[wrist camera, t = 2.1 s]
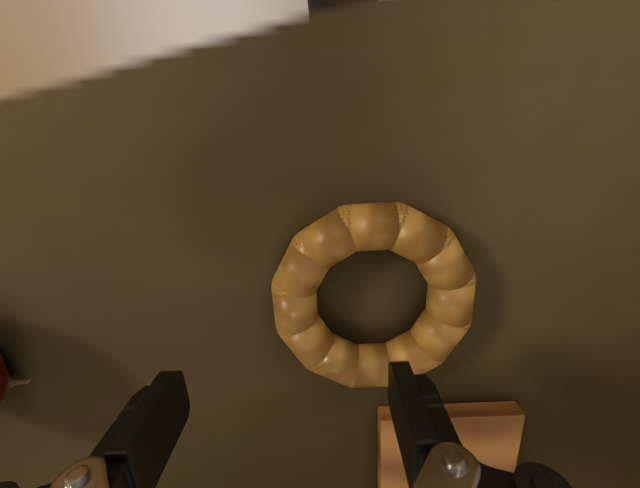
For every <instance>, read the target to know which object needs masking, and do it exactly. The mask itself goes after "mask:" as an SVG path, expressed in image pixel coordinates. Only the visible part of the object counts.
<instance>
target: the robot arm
mask: <svg viewBox="0 0 640 488" xmlns="http://www.w3.org/2000/svg"><path fill="white" fill-rule="evenodd" d="M388 401H389V408H390V413H391V417H392V421H393V425H394V429H395V433H396V437H397V441H398V445H399V449H400V453H401V457H402V461H403V465H404V469H405V473H406V477H407V481H408V485H409V488H572V487H571V485H570V484H569V483H568V482H567V481H566V480H565V479H564V478H563V477H562V476H561V475H560V474H559V473H557V472H556V471H554V470H553V469H551V468H549V467H547V466H545V465H542V464H538V463H532V462H527V463H522V464H520V465H519V466H518V467H517V468H516V469H515V472H514V473H512V472H508V471H505V470H501V469H497V468H493V467H490V466H487V465H485V464H483V463H481V462H479V461H478V460H477V459H476V457H475V456H474V455H473V454H472V453H471V452H470V451H469V450H468V449H466V448H465V447H463V445H462V443H461V441H460V439H459V437H458V435H457V432H456V430H455V428H454V426H453V424H452V422H451V419H450V417H449V415H448V413H447V411H446V408H445V407H444V404H443V402H442V400H441V398H440V395H439V393H438V391H437V389H436V386H435V384H434V383H433V382H432V381H431V380H430V379H429V378H428V377H427V376H426V375H425V374H418V375H414V373H413V370H412V368H411V365H410V363H409V361H391V362H389V363H388ZM189 410H190V402H189V397H188V393H187V388H186V384H185V379H184V375H183V372H182V371H180V370H179V371H161V372H159V373H158V375H157V376H156V377H155V379H154V380H153V382H152V383H151V385H150V386H144V387H143V388H142V389H141V390H140V391H138V392H137V393H136V394H135V395H133V396H132V398H131V399H130V400H129V402H128V403H127V404H126V406H125V407H124V410H122V411H121V413H120V414H119V415H118V417H117V420H115V421H114V422H113V424H112V425H111V427H110V428H109V429H108V431H107V432H106V433H105V435H104V436H103V438H102V439H101V440H100V442H99V443H98V445H97V446H96V447H95V449H94V450H93V451H92V453H91V454H90V456H89V457H86V458H83V459H80V460H78V461H76V462H74V463H72V464H71V465H69V466H68V467H66V468H65V469H64V470H63V471H62V472H61V473H59V475H58V476H57V477H56V478H55V479H54V481H53V482H52V483H50V484H47V485H44V486H41V487H37V488H155V487H156V485H157V483H158V481H159V479H160V476H161V474H162V472H163V470H164V468H165V466H166V464H167V462H168V459H169V457H170V455H171V453H172V451H173V449H174V447H175V445H176V442H177V440H178V438H179V436H180V434H181V432H182V430H183V428H184V426H185V423H186V421H187V419H188V416H189ZM0 488H19V487H18V485H17V483H15V482H12V481H6V482H1V483H0Z"/></svg>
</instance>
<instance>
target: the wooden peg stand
mask: <svg viewBox="0 0 640 488" xmlns="http://www.w3.org/2000/svg"><path fill="white" fill-rule="evenodd" d="M444 407H445V408H446V411H447V413H448V415H449V417H450V419H451V422H452V424H453V426H454V428H455V430H456V432H457V435H458V437H459V439H460V441H461V443H462V445H463V447H465V448H466V449H468V450H469V451H470V452H471V453H472V454H473V455H474V456H475V457H476V459H477V460H478V461H479V462H481V463H483V464H485V465H487V466H490V467H493V468H497V469H501V470H505V471H508V472H512V473H514V472H515V468H516V463H517V457H518V452H519V447H520V441H521V436H522V431H523V425H524V420H525V414H524V413H523V411H522V410H521V409H520V407H519V406H518V404H517V403H516V402H515V401H500V402H475V403H449V404H444ZM378 488H409V485H408V481H407V477H406V473H405V469H404V465H403V461H402V457H401V453H400V449H399V445H398V441H397V437H396V433H395V429H394V425H393V421H392V417H391V413H390V408H389V406H378Z"/></svg>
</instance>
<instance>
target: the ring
mask: <svg viewBox="0 0 640 488" xmlns="http://www.w3.org/2000/svg"><path fill="white" fill-rule="evenodd" d="M375 250H391V251H393V252H395V253H397V254H399V255H401V256H403V257H405V258H407V259H409V260H411V261H413V262H415V264H416V265H417V267H418V269H419V270H420V272H421V274H422V275H423V277H424V279H425V280H426V282H427V297H426V308H425V309H424V311H423V312H422V314H421V315H420V316H419V318H418V319H417V321H416V322H415V324H414V325H413V327H412V328H411V329H410V330H408V331H406V332H404V333H402V334H401V335H399V336H397V337H395V338H393V339H391V340H389V341H387V342H385V343H365V344H356V343H353V342H351V341H349V340H347V339H344V338H342V337H340V336H338V335H335V334H333V333H332V332H331V331H330V330H329V328H328V327H327V326H326V324H325V323H324V322H323V320H322V319H321V318H320V316H319V315H318V306H317V289H318V288H319V286H320V284H321V282H322V280H323V279H324V277H325V275H326V273H327V271H328V270H329V268H330V267H332V266H333V265H335V264H337V263H338V262H340V261H342V260H343V259H345V258H347V257H348V256H350V255H352V254H353V253H355V252H357V251H375ZM475 287H476V275H475V271H474V269H473V267H472V265H471V264H470V262H469V260H468V258H467V256H466V254H465V253H464V251H463V249H462V247H461V245H460V243H459V242H458V240H457V238H456V236H455V234H454V233H453V231H452V230H451V229H450V228H449V227H448V226H446V225H445V224H443V223H441V222H439V221H437V220H435V219H433V218H431V217H429V216H427V215H425V214H424V213H422V212H420V211H418V210H416V209H414V208H412V207H410V206H408V205H406V204H404V203H401V202H380V203H361V204H346V205H342V206H339V207H338V208H336V209H334V210H333V211H331V212H330V213H328V214H327V215H325V216H323V217H322V218H320V219H319V220H317V221H315V222H314V223H312V224H311V225H309V226H308V227H306V228H304V229H303V230H301V231H300V232H298V233H297V234H296V235H295V236H294V238H293V239H292V241H291V243H290V245H289V247H288V249H287V251H286V253H285V255H284V257H283V259H282V261H281V263H280V265H279V267H278V269H277V271H276V273H275V275H274V277H273V279H272V284H271V289H272V298H273V307H274V316H275V325H276V329H277V332H278V334H279V336H280V337H281V338H282V339H283V341H284V342H285V343H286V344H287V346H288V347H289V348H290V349H291V351H292V352H293V353H294V354H295V356H296V357H297V358H298V359H299V361H300V362H301V363H302V364H303V366H304V367H305V368H307V369H308V370H310V371H312V372H314V373H316V374H319V375H321V376H324V377H326V378H328V379H331V380H333V381H335V382H338V383H340V384H343V385H345V386H348V387H353V388H357V387H382V386H388V363H389V362H391V361H409V363H410V365H411V368H412V370H413V373H414V375H418V374H423V373H425V372H427V371H429V370H431V369H433V368H435V367H437V366H439V365H441V364H442V363H443V362H444V361H445V359H446V358H447V357H448V355H449V354H450V353H451V351H452V350H453V349H454V348H455V346H456V345H457V344H458V342H459V341H460V340H461V338H462V337H463V336H464V334H465V333H466V332H467V330H468V329H469V327H470V325H471V322H472V315H473V305H474V296H475Z"/></svg>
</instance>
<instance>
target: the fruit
mask: <svg viewBox="0 0 640 488" xmlns="http://www.w3.org/2000/svg"><path fill="white" fill-rule="evenodd" d="M30 381H31V380H17V379H13V378H11V377H10V376H9V372H8V370H7V368H6V365H5V363H4V360H3V358H2V356H1V353H0V402H1V400H2V398H3V397H4V396H5V395H6V394H7V392H8V391H9V390H10V389H11V388H12V387H13V386H15V385H23V384H29V383H28V382H30Z"/></svg>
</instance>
